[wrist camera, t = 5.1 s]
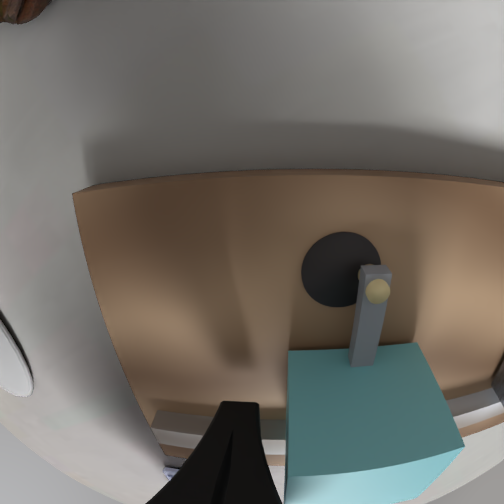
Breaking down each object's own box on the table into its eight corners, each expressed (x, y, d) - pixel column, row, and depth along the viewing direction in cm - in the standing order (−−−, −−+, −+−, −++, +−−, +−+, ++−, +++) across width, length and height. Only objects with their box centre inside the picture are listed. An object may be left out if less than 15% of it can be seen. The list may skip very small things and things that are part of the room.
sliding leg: (392, 407, 11) (416, 497, 7) (286, 415, 12) (282, 515, 7) (437, 257, 8) (525, 353, 4) (289, 261, 9) (295, 390, 4)
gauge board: (497, 408, 14) (510, 432, 12) (170, 437, 16) (160, 469, 14) (577, 196, 8) (608, 211, 6) (94, 185, 10) (51, 202, 8)
